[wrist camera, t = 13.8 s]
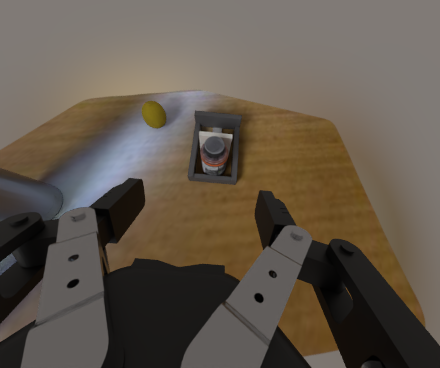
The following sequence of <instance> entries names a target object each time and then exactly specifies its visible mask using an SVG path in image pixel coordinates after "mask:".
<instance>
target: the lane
mask: <svg viewBox="0 0 440 368" xmlns="http://www.w3.org/2000/svg"><path fill="white" fill-rule="evenodd" d="M241 119H242V115H233V114H223V113H213V112H204V111H195V121H196V124H195V131H194V137H193V144H192V151H191V157H190V164H189V171H188V178H189V180H190V181H201V182H211V183H222V184H233V185H235V183H236V181H237V165H238V146H239V127H240V123H241ZM201 126H204V127H214V128H224V129H234V133H233V148H232V164H231V177H226V176H216V175H205V174H195V170H196V163H197V156H198V148H199V141H200V140H199V131H201Z"/></svg>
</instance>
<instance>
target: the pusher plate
mask: <svg viewBox="0 0 440 368" xmlns="http://www.w3.org/2000/svg"><path fill="white" fill-rule="evenodd" d="M211 136H217V137H220V138H221V139H222V140H223V141H224V143H225V144H226V146H227V148H228V156H229V151H230V147H231V142H232V134H223V133H222V128H214V127H213V132H203V131H199V140H200V149H201V147H202V145H203V144H204V143H205V141H206V140H207V139H208V138H209V137H211Z"/></svg>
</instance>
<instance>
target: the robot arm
mask: <svg viewBox="0 0 440 368" xmlns="http://www.w3.org/2000/svg"><path fill="white" fill-rule="evenodd" d="M62 202H63V197H62V194H61V192H60V190H59V189H58V188H56V187H54V186H52V185H49V184H46V183H43V182H40V181H37V180H34V179H31V178H28V177H25V176H23V175H20V174H17V173H14V172H11V171H8V170H5V169H2V168H0V262H1V261H2V260H3V259H4V258H6V257H7V256H8V255H10V254H11V253H12V254H13V256H14V257H15V259H16V260H17V262H16V263H15V264H13V265H12V266H11V267H10V268H9V269H7V270H6V271H5V272H4V273H3V274H1V275H0V323H1V322H2V321H3V320H4V319H5V318H6V317H7V316H8V315H9V314H10V313H11V312H12V310H13V309H14V308H15V307H16V306H17V305H18V304H19V303H20V302H21V301H22V300H23V299H24V298H25V297H26V296H27V294H28V293H29V292H30V291H31V290H32V289H33V288H34V287H35V286H36V285H37V284H38V283H39V282H40V281H41V279H42V278H43V283H42V288H41V294H40V300H39V306H38V312H37V318H36V320H34V321H33V322H31V323H30V324H28V325H26V326H25V327H23V328H22V329H20V330H19V331H17V332H16V333H14V334H12V335H11V336H9V337H8V338H6V339H5V340H3V341H2V342H0V368H311V367H310V365H309V364H308V363H307V362H306V360H305V359H304V358H303V357H302V355H301V354H300V353H299V352H298V350H297V349H296V348H295V347H294V345H293V344H292V343H291V342H290V340H289V339H288V338H287V337H286V335H285V334H284V333H283V332H282V330H281V329H280V328H279V327H278V322H279V320H280V317H281V315H282V313H283V310H284V308H285V305H286V303H287V301H288V298H289V296H290V293H291V291H292V289H293V286H294V284H295V281H296V279H299V280H302V281H305V282H307V283H310V284H312V286H313V288H314V291H315V293H316V295H317V298H318V300H319V303H320V305H321V308H322V310H323V312H324V315H325V317H326V320H327V322H328V325H329V327H330V329H331V332H332V334H333V337H334V339H335V341H336V344H337V346H338V349H339V351H340V354H341V356H342V358H343V361H344V363H345V366H346V368H440V346H439V344H438V343H437V342H436V341H435V340H434V338H433V337H432V336H431V335H430V333H429V332H428V331H427V330H426V329H425V327H424V326H423V325H422V324H421V323H420V321H419V320H418V319H417V318H416V317H415V315H414V314H413V313H412V312H411V311H410V309H409V308H408V307H407V306H406V304H405V303H404V302H403V301H402V300H401V298H400V297H399V296H398V295H397V294H396V292H395V291H394V290H393V289H392V288H391V286H390V285H389V284H388V283H387V282H386V280H385V279H384V278H383V277H382V275H381V274H380V273H379V272H378V271H377V269H376V268H375V267H374V266H373V265H372V263H371V262H370V261H369V260H368V259H367V257H366V256H365V255H364V254H363V253H362V251H361V250H360V249H359V248H357V247H356V246H355V245H353V244H352V243H350V242H348V241H345V240H342V239H332V240H331V241H330V243H329V245H327V244H324V243H320V242H317V241H314V240H312V237H311V236H310V234H309V233H308V232H307V231H306V230H304V229H302V228H300V227H298V226H296V224H295V222H294V220H293V219H292V217H291V215H290V214H289V212H288V210H287V208H286V206H285V204H284V203H283V202H281V201H280V200H279V199H275V197H274V195H273V193H272V192H271V191H262V190H260V191H259V195H258V199H257V203H256V208H255V220H256V224H257V228H258V231H259V235H260V239H261V243H262V247H263V252H262V253H261V255H260V256H259V257H258V259H257V260H256V261H255V263H254V264H253V265H252V267H251V268H250V269H249V271H248V272H247V273H246V275H245V276H244V277H243V279H242V280H241V281H239V280H238V279H236V278H235V277H233V276H231V275H229V274H226V273H225V266H224V265H211V264H198V265H191V266H185V267H176V266H173V265H170V264H167V263H165V262H162V261H159V260H150V259H138V258H135V260H134V262H133V264H132V265H131V266H128V267H124V268H120V269H118V270H115V271H113V272H110V268H109V263H108V257H107V251H106V247H105V246H106V245H107V243H116V244H117V243H118V242H119V240H120V239H121V237H122V236H123V235H124V233H125V232H126V231H127V229H128V228H129V227H130V225H131V224H132V222H133V221H134V220H135V218H136V217H137V216H138V214H139V213H140V212H141V210H142V209H143V207H144V205H145V194H144V186H143V181H142V179H135V178H129V179H127V180H126V181H125V182H124V183H123V184H120V185H118V186H116V187H113V188H112V189H111V190H109V191H108V192H107V193H106V194H104V195H103V197H101V198H99V199H98V200H97V201H96V202H95V203H93V204H92V205H91V206H90V207H83V208H77V209H73V210H71V211H68V212H66V213H65V214H63V215H62V216H61V217H60V219H54V220H51V219H52V218H53V217H54V216H55V215H56V214H57V213H58V212H59V210H60V208H61V206H62ZM345 287H346V288H347V289H348V291H349V293H350V294H351V297H352V299H353V300H352V299H351V297H350V295H349V293H348V292H347V290H346V288H345Z"/></svg>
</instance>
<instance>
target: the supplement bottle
mask: <svg viewBox="0 0 440 368" xmlns="http://www.w3.org/2000/svg"><path fill="white" fill-rule="evenodd" d="M200 153H201V161H202V168H203V171H204V173H205V174H206V175H216V176H221V175H222V174H223V173H224V172H225V169H226V164H227V159H228V148H227V146H226V144H225V143H224V141H223V140H222V139H221V138H220V137H217V136H211V137H209V138H208V139H207V140H206V141H205V143H204V144H203V145H202V147H201V151H200Z"/></svg>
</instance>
